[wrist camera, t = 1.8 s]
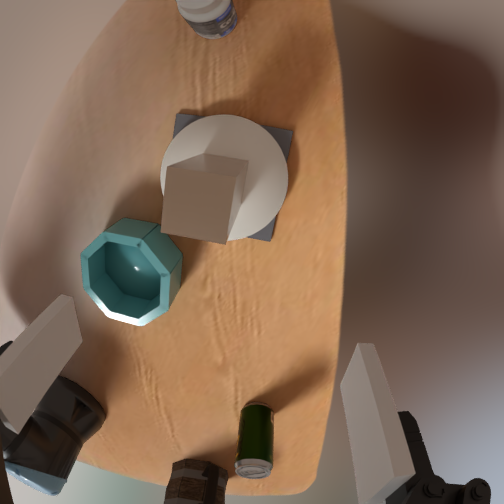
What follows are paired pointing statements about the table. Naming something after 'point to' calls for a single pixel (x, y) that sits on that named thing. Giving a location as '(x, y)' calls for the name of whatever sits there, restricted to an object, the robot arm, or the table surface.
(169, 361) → the table surface
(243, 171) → the lid
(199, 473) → the mug
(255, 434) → the beer can
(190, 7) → the pill bottle
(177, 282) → the bowl
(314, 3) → the table surface
